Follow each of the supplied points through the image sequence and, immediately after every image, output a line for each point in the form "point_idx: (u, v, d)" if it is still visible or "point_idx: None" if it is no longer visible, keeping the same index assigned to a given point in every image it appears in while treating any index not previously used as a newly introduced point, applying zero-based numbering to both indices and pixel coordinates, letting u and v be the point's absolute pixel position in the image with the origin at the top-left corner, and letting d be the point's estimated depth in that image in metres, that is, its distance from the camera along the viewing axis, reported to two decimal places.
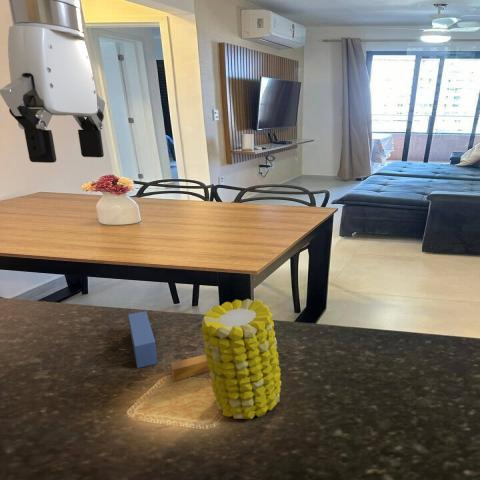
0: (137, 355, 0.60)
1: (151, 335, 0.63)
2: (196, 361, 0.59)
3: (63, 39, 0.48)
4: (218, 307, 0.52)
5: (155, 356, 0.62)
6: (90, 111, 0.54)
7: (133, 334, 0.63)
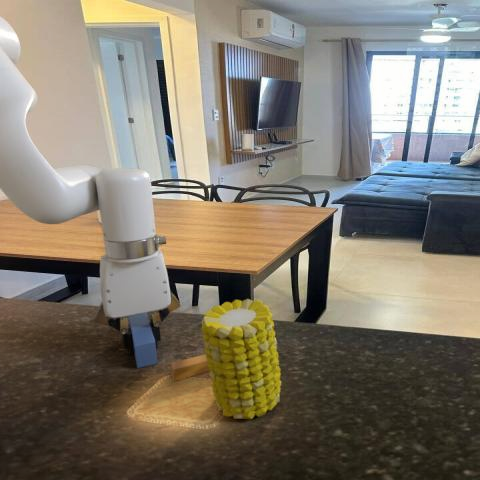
0: (137, 355, 0.60)
1: (151, 335, 0.63)
2: (196, 361, 0.59)
3: (126, 265, 0.59)
4: (218, 307, 0.52)
5: (155, 356, 0.62)
6: (158, 308, 0.64)
7: (133, 334, 0.63)
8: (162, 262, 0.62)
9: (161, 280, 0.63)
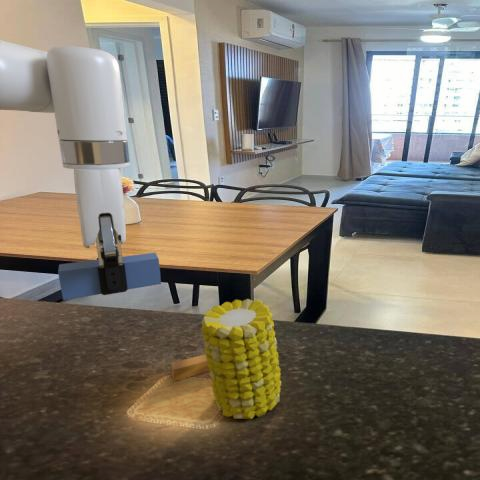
0: (159, 268, 0.55)
1: None
2: (196, 361, 0.59)
3: (120, 172, 0.50)
4: (218, 307, 0.52)
5: None
6: None
7: (127, 262, 0.53)
8: None
9: None
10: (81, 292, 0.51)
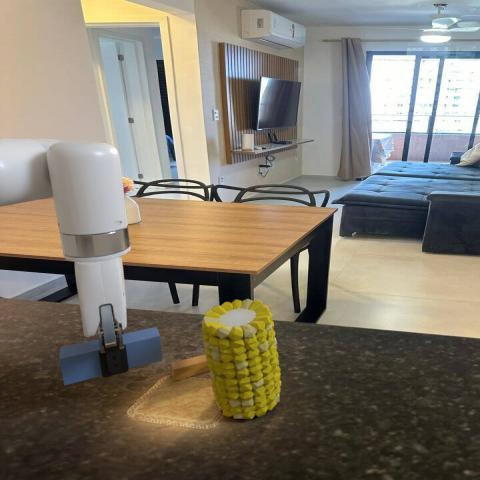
0: (160, 345, 0.55)
1: (140, 331, 0.55)
2: (196, 361, 0.59)
3: (121, 257, 0.49)
4: (218, 307, 0.52)
5: None
6: None
7: (128, 342, 0.52)
8: None
9: None
10: (82, 376, 0.50)
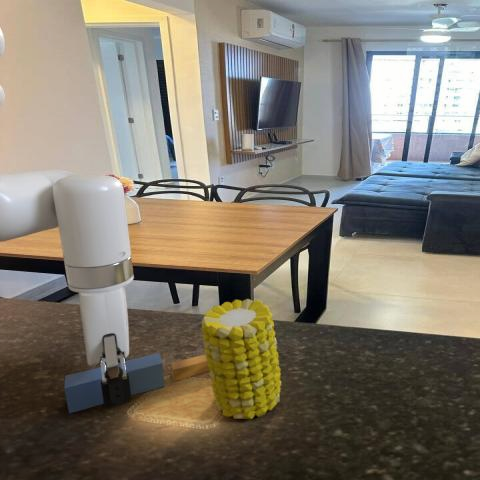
0: None
1: (143, 357, 0.57)
2: (196, 361, 0.59)
3: (124, 286, 0.51)
4: (218, 307, 0.52)
5: None
6: None
7: (132, 370, 0.54)
8: None
9: None
10: (87, 404, 0.52)
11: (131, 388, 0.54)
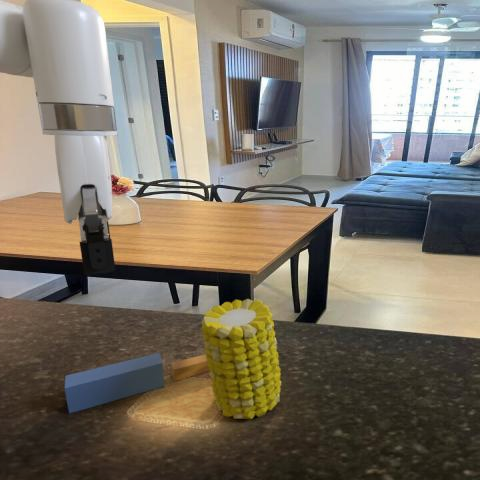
0: None
1: (143, 357, 0.57)
2: (196, 361, 0.59)
3: (106, 141, 0.45)
4: (218, 307, 0.52)
5: None
6: None
7: (132, 370, 0.54)
8: None
9: None
10: (87, 404, 0.52)
11: (131, 388, 0.54)
